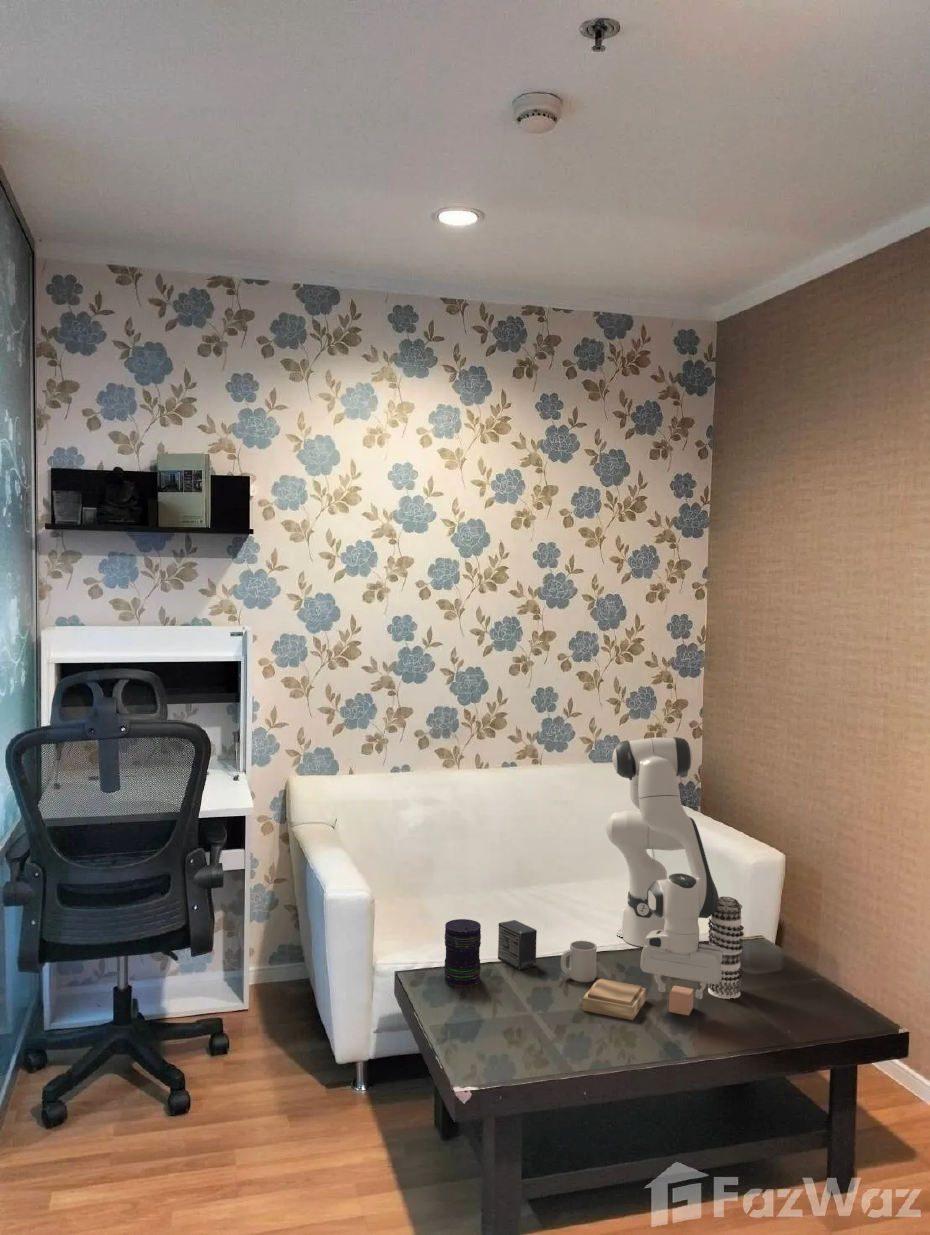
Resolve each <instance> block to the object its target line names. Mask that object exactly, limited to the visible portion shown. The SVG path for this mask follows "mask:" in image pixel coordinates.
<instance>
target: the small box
mask: <svg viewBox="0 0 930 1235" xmlns="http://www.w3.org/2000/svg"><path fill="white" fill-rule="evenodd" d="M537 933H538V932H537V929H535V928H534V927H531V926H528V925H526V924H524V923H522V922H520V921H518V920H516V919H512V920H508V921H507V920H506V921H502V922H498V940H497V942H498V943H497V944H498V945H497V946H498V947H497V948H498V949H497V959H498V961H499V960H500V961H501V962H503V963H504V964H507V965H509V966H511V967H512V968H514V969H516V970H518V971H521V970H524V969H529V968H532V967H536V966H537V937H538V936H537Z"/></svg>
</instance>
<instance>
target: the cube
mask: <svg viewBox="0 0 930 1235" xmlns="http://www.w3.org/2000/svg"><path fill="white" fill-rule="evenodd" d="M668 997H669V998H668V999H669V1000H668V1001H669V1004H668V1012H669V1013H674V1014H679V1015H682V1016H690V1014H691V1012H692V1011H693V1009H694V988H690V987H685V986H679V985H673V986H672V988H671V989H670V991H669V996H668Z"/></svg>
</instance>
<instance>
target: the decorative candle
mask: <svg viewBox="0 0 930 1235" xmlns="http://www.w3.org/2000/svg"><path fill="white" fill-rule="evenodd" d="M718 897H719V905H718V908H717V909H716V911H715V912H714V913H713V914H712V915H711V916H710V918H708V922H707V926H708V928H709V929H708V931H707V932H708V934H709V935H708V941H709V943H708V945H714V946H717V948H719V949H720V950H721V951H722V953H723V961H722V963H721V969H722V978H721V981H720V982H719V983H718V984H716V985H715V984H709V983H707V986H708V989H707V991H708V994H710V995H711V996H713V997H715V998H720V999H724V1000H725V999H726V1000H731V999H730V998H734V999H736V998H739V997H740V996H741V994H742V993H741V990H742V987H741V984H742V980H741V977H742V973H741V972H742V967H741V955H740V954H741V953H742V952H743V950H742V949H743V945H742V943H743V938H741V937H743V936H744V932H743V930H744V926H743V925H742V909H743V905H742V904H740V902H739V901H738V899H736V898H734V897H731V896H718Z"/></svg>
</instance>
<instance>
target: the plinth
mask: <svg viewBox="0 0 930 1235" xmlns="http://www.w3.org/2000/svg"><path fill="white" fill-rule="evenodd" d="M646 1001H647V988H645V987H642V985H639V984H638V985H637V984H632V983H628V982H627V983H626V982H621V981H615V980H610V979H604V978H599V979H597V980H596V981H595V982H594V983H593V984H592V986H591V987H590V988H589V989H588V991H587V992H586V993H585V994H584V996H583V997H582V1011H584V1012H587V1013H593V1014H594V1013H595V1014H599V1015H604V1016H609V1017H615V1018H619V1019H625V1020H630V1021H634V1019H635V1018H636V1016H637V1015H638V1014H639V1012H640V1011H641V1009H642V1007H643V1006H644V1004H645V1002H646Z"/></svg>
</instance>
